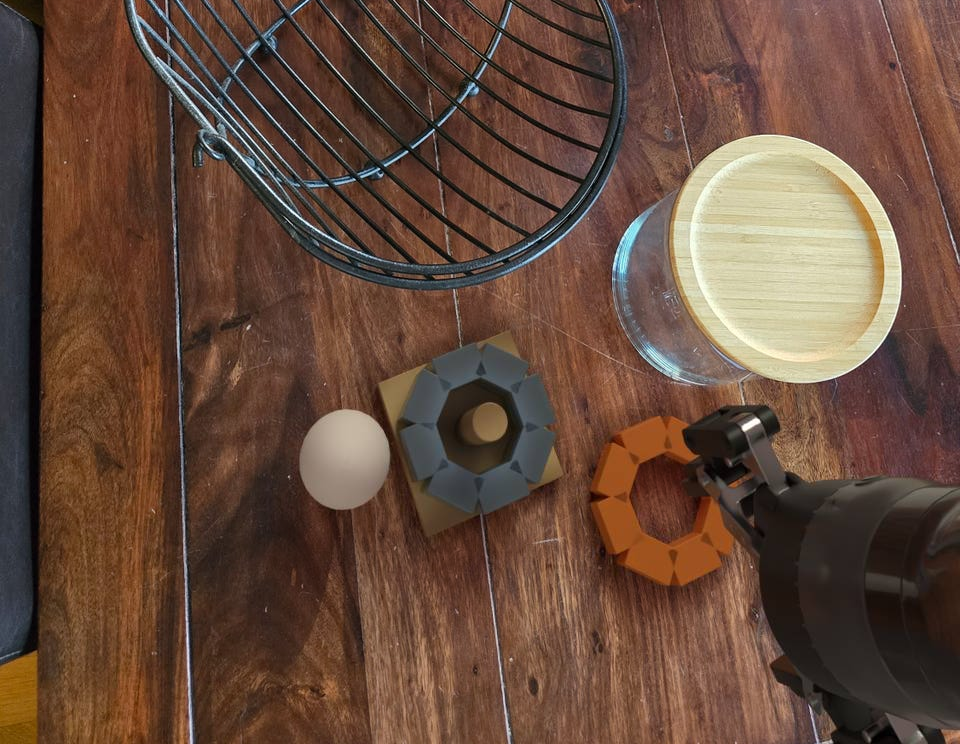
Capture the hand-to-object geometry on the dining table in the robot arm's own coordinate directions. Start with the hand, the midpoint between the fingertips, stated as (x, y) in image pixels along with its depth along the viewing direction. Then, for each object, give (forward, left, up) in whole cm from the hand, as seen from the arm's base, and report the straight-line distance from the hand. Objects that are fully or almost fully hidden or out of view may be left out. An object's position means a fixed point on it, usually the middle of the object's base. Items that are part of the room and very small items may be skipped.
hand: (743, 567), depth 56 cm
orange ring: (+2, -2, -16) cm, 16 cm away
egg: (+12, +16, -16) cm, 26 cm away
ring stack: (+10, +8, -16) cm, 21 cm away
